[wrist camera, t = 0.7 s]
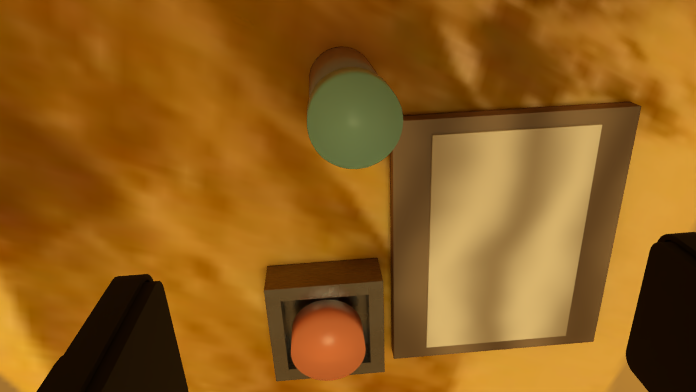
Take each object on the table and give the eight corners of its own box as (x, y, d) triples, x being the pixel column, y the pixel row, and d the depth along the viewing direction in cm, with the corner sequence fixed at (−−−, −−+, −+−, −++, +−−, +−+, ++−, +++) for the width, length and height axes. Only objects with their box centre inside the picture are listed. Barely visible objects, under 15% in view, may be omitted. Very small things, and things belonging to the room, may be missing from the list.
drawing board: (630, 101, 32) (643, 106, 31) (585, 331, 40) (594, 343, 39) (389, 116, 32) (393, 122, 30) (391, 348, 39) (394, 360, 38)
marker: (374, 43, 30) (403, 71, 21) (375, 111, 31) (403, 165, 22) (304, 46, 30) (303, 77, 20) (310, 115, 31) (310, 171, 22)
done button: (360, 296, 34) (364, 318, 32) (363, 352, 36) (366, 377, 34) (288, 302, 34) (287, 324, 32) (295, 358, 36) (294, 383, 34)
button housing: (377, 257, 36) (383, 281, 33) (379, 344, 39) (384, 371, 36) (267, 266, 36) (264, 290, 33) (278, 352, 39) (276, 381, 36)
